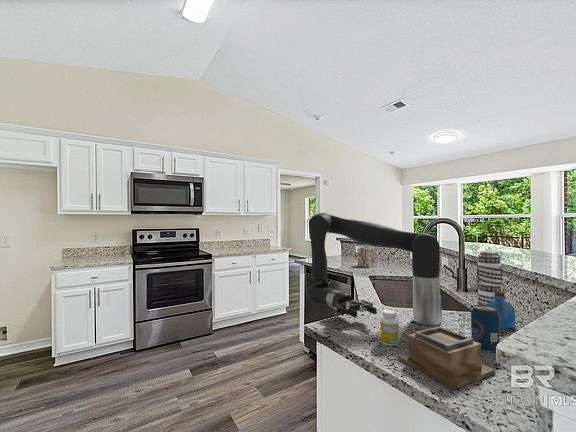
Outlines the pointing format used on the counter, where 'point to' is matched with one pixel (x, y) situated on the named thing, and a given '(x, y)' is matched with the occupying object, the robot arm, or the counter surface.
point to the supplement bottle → (389, 328)
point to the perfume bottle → (503, 310)
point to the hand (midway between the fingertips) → (366, 313)
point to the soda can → (485, 327)
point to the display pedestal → (446, 357)
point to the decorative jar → (367, 256)
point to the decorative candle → (488, 276)
